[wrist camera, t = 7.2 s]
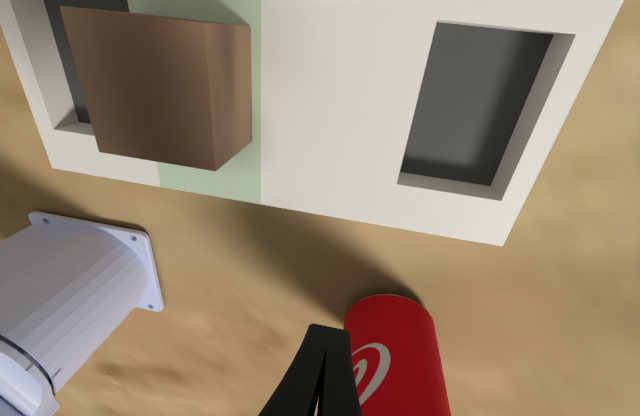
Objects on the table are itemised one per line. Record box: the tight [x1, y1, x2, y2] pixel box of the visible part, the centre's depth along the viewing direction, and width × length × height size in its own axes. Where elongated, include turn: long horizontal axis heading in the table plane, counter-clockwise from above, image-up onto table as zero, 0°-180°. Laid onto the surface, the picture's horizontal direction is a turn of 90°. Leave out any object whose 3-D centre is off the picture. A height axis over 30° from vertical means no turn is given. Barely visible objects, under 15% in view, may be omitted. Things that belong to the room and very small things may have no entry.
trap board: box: [0, 0, 624, 246], centre depth 15 cm, size 26×12×2 cm, turn 84°
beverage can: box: [343, 294, 451, 416], centre depth 17 cm, size 6×6×12 cm
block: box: [59, 6, 252, 171], centre depth 13 cm, size 5×5×4 cm
